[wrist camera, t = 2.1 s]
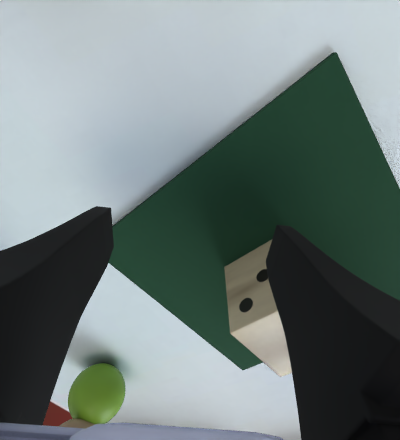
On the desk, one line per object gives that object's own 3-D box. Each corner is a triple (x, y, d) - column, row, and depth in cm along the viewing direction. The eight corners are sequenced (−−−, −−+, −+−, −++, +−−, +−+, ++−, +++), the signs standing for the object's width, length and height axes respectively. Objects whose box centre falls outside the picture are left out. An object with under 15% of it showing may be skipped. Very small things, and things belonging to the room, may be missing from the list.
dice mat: (441, 284, 22) (445, 288, 21) (242, 366, 29) (242, 370, 28) (333, 52, 14) (336, 51, 13) (90, 243, 20) (88, 246, 20)
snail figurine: (121, 388, 31) (80, 547, 21) (73, 367, 29) (0, 532, 19) (147, 369, 29) (115, 536, 19) (97, 346, 27) (30, 518, 17)
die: (328, 276, 21) (368, 346, 16) (264, 307, 23) (280, 378, 18) (291, 226, 19) (324, 289, 14) (223, 266, 21) (229, 333, 16)
